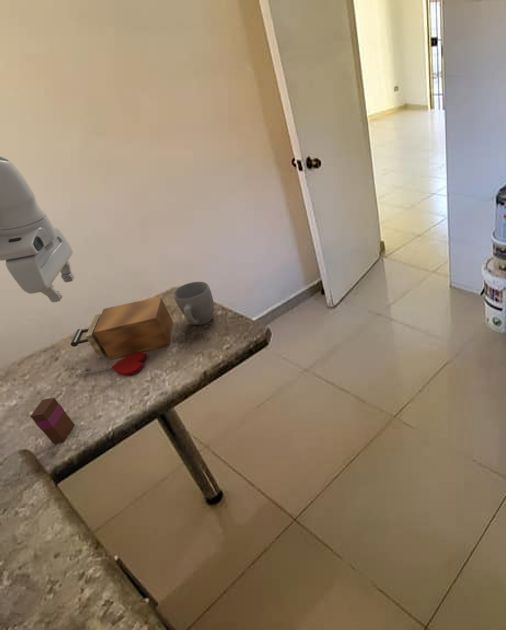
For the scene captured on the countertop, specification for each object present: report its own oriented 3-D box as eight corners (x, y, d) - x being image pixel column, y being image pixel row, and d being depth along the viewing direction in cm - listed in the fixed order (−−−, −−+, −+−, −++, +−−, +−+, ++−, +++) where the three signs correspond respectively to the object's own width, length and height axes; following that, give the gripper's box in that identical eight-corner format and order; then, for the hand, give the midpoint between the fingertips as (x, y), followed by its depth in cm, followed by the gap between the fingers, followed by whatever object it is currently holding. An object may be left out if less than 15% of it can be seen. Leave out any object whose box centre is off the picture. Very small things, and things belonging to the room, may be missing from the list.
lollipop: (70, 388, 100) (140, 373, 103) (68, 385, 99) (139, 370, 102) (82, 366, 106) (148, 352, 109) (80, 363, 106) (147, 349, 109)
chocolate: (52, 443, 87) (29, 416, 82) (63, 426, 90) (42, 399, 86) (64, 441, 87) (42, 414, 82) (75, 424, 91) (54, 397, 86)
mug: (191, 312, 124) (178, 283, 118) (223, 308, 125) (211, 279, 119) (178, 338, 114) (164, 307, 108) (213, 333, 115) (200, 302, 109)
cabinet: (110, 359, 108) (93, 332, 103) (118, 335, 117) (103, 308, 112) (169, 345, 112) (155, 318, 107) (173, 322, 120) (160, 296, 115)
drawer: (77, 363, 106) (62, 341, 102) (87, 340, 114) (74, 319, 110) (154, 344, 111) (142, 323, 107) (158, 323, 118) (148, 303, 115)
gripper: (29, 219, 98) (62, 272, 106) (-10, 257, 82) (32, 316, 90) (61, 214, 100) (91, 267, 108) (28, 250, 84) (66, 309, 92)
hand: (64, 290), depth 99 cm, fingers open, 8 cm apart
